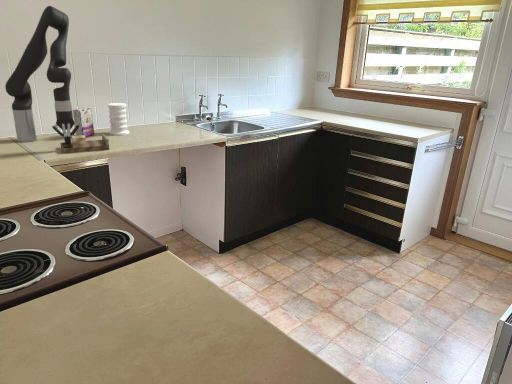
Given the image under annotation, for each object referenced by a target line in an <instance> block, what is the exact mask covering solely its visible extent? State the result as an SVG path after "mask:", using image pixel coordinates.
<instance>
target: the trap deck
mask: <svg viewBox="0 0 512 384" xmlns="http://www.w3.org/2000/svg"><path fill="white" fill-rule="evenodd" d="M59 144H60V148H61V151H62V154H75V153H86V152H87V153H88V152H98V151H99V152H100V151H110V143H109V138H108V137H107V136H106V135H105V134H104V133H102V134H101V139H92V140H86V145H81V146H74V145H73V142H72V141H71V143H70V144H67V143H65V141H64V142H60V143H59Z"/></svg>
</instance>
